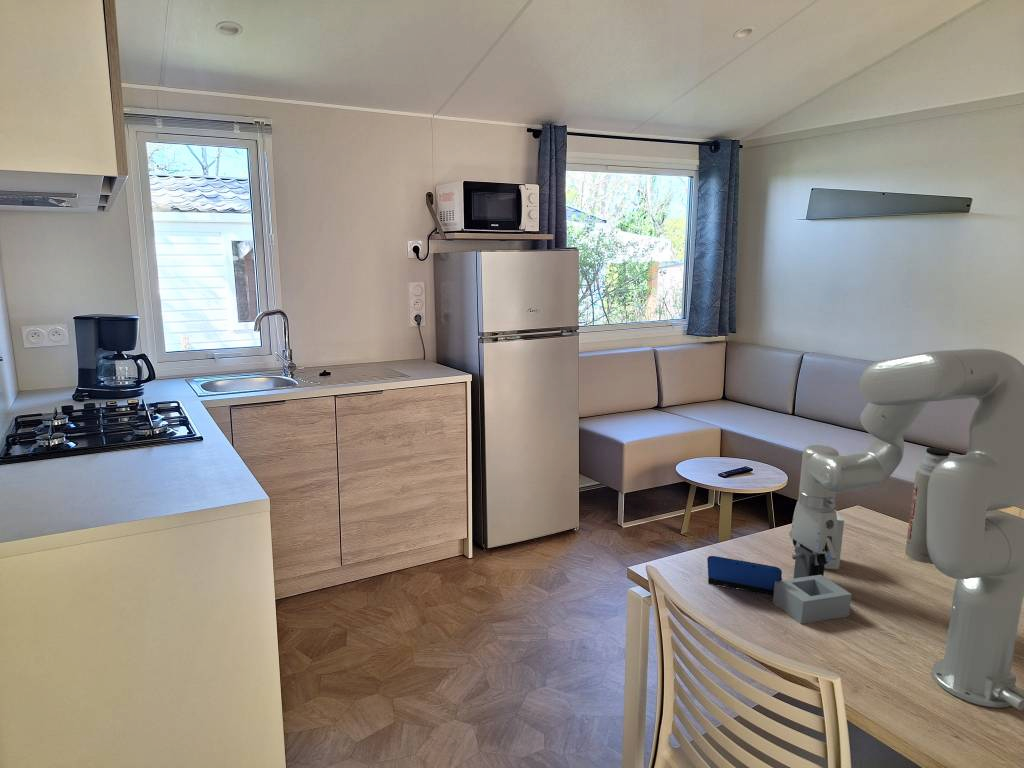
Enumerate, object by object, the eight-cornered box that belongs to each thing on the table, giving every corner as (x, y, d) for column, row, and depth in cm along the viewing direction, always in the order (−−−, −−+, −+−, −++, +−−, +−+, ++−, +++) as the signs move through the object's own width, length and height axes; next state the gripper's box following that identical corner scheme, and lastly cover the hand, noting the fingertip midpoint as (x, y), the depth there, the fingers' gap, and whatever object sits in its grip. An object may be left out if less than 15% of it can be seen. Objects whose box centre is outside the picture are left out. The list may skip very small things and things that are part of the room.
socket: (849, 616, 142) (851, 594, 141) (800, 624, 138) (803, 601, 137) (818, 595, 150) (821, 574, 149) (772, 602, 147) (774, 581, 146)
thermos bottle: (903, 557, 170) (917, 450, 164) (907, 546, 176) (920, 443, 171) (940, 566, 165) (956, 456, 160) (942, 554, 171) (958, 448, 166)
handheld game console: (782, 581, 157) (785, 544, 155) (778, 608, 145) (782, 568, 143) (712, 568, 163) (715, 532, 161) (704, 593, 151) (707, 554, 150)
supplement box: (839, 570, 162) (845, 520, 160) (806, 567, 164) (811, 518, 161) (831, 557, 169) (837, 509, 167) (800, 554, 171) (805, 507, 168)
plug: (822, 585, 155) (825, 552, 153) (797, 588, 153) (800, 556, 152) (809, 576, 159) (812, 544, 158) (784, 579, 157) (787, 547, 156)
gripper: (858, 512, 146) (849, 590, 149) (804, 486, 161) (797, 557, 165) (829, 515, 144) (820, 594, 147) (778, 488, 159) (771, 560, 163)
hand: (808, 573), depth 156 cm, fingers closed on plug, 4 cm apart
